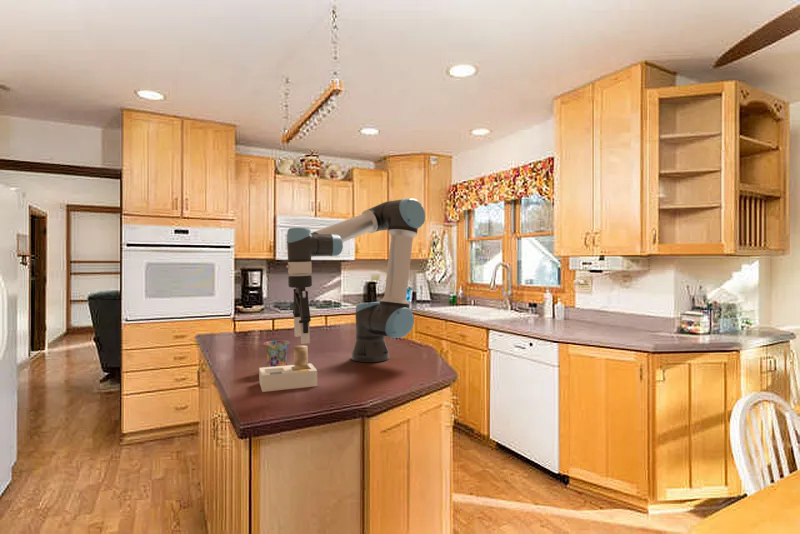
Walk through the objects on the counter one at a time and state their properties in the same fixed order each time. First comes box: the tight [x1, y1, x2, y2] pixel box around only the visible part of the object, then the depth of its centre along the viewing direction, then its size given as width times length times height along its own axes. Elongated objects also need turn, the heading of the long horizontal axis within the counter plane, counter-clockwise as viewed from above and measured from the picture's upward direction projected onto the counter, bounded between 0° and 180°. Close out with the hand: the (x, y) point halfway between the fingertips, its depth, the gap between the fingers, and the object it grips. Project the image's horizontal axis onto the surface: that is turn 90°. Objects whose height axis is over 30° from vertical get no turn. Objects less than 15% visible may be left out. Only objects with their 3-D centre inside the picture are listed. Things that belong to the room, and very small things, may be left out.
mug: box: [262, 340, 290, 367], centre depth 167 cm, size 12×9×11 cm
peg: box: [293, 344, 309, 371], centre depth 150 cm, size 4×4×11 cm
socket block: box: [258, 363, 318, 393], centre depth 149 cm, size 17×11×5 cm, turn 111°
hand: (301, 339), depth 150 cm, fingers open, 13 cm apart
